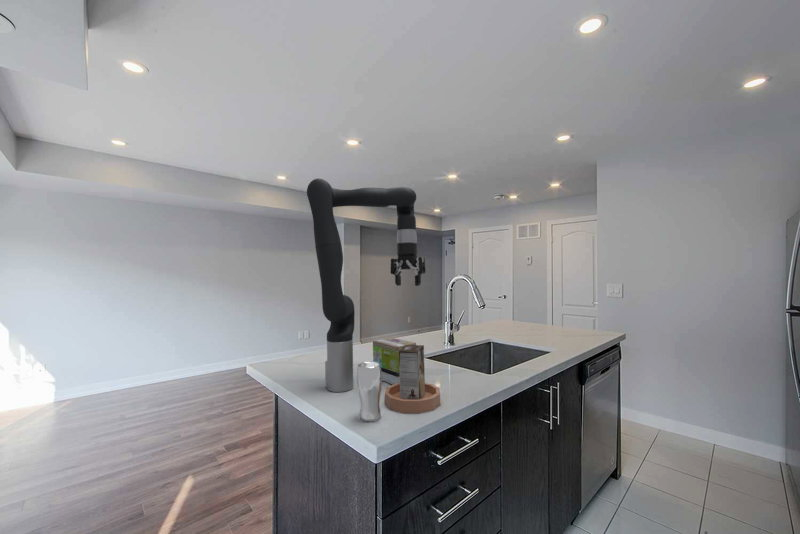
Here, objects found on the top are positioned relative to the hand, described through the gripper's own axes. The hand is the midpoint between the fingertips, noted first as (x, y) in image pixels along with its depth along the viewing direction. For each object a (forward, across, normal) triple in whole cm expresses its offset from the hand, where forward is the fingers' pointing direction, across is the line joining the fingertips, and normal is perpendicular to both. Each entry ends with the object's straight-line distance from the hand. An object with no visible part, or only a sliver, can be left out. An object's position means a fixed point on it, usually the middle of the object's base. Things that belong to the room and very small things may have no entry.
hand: (407, 285), depth 125 cm
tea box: (+36, -7, 0) cm, 37 cm away
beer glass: (+36, +7, -31) cm, 48 cm away
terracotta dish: (+36, +11, -15) cm, 41 cm away
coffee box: (+35, +11, -15) cm, 40 cm away
